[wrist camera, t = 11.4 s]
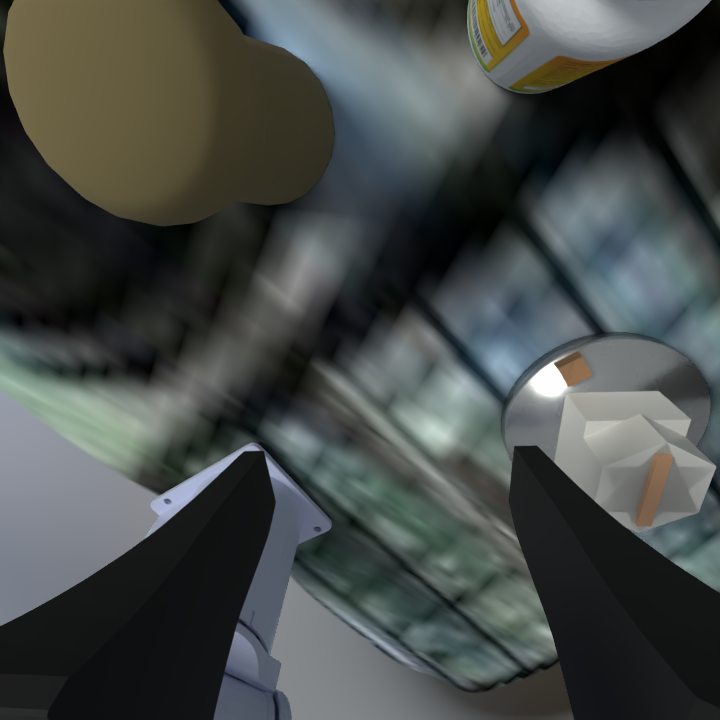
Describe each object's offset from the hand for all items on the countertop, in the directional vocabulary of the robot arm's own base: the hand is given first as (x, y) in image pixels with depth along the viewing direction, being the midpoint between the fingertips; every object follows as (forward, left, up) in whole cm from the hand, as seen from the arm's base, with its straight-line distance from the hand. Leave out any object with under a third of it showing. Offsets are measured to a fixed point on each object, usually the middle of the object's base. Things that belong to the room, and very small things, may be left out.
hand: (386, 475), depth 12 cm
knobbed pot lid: (+7, -10, -10) cm, 16 cm away
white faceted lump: (+7, -10, -9) cm, 15 cm away
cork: (+1, +11, -11) cm, 15 cm away
